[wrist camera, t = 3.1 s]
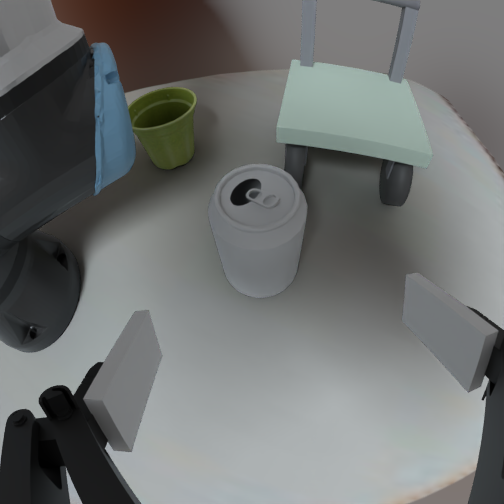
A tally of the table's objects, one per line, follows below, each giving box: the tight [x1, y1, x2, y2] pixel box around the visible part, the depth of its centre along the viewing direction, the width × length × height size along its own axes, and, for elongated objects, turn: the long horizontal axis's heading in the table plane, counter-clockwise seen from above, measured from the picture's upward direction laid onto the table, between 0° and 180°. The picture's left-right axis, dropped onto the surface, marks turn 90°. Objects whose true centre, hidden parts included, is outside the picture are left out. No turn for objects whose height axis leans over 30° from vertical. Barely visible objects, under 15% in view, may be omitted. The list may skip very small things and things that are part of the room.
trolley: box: [276, 0, 433, 206], centre depth 29 cm, size 16×18×23 cm
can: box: [208, 163, 308, 298], centre depth 27 cm, size 8×8×12 cm
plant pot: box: [128, 87, 197, 169], centre depth 37 cm, size 9×9×9 cm
